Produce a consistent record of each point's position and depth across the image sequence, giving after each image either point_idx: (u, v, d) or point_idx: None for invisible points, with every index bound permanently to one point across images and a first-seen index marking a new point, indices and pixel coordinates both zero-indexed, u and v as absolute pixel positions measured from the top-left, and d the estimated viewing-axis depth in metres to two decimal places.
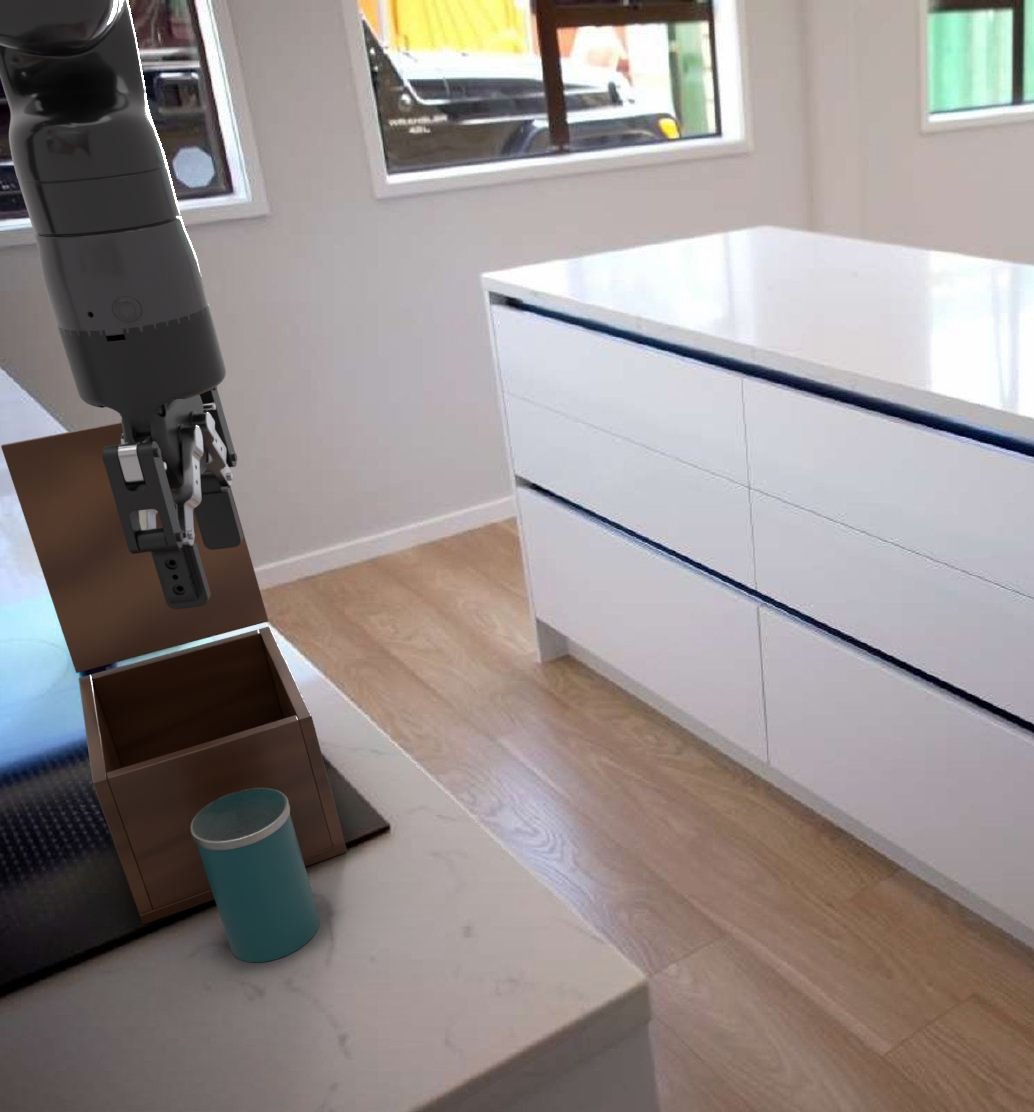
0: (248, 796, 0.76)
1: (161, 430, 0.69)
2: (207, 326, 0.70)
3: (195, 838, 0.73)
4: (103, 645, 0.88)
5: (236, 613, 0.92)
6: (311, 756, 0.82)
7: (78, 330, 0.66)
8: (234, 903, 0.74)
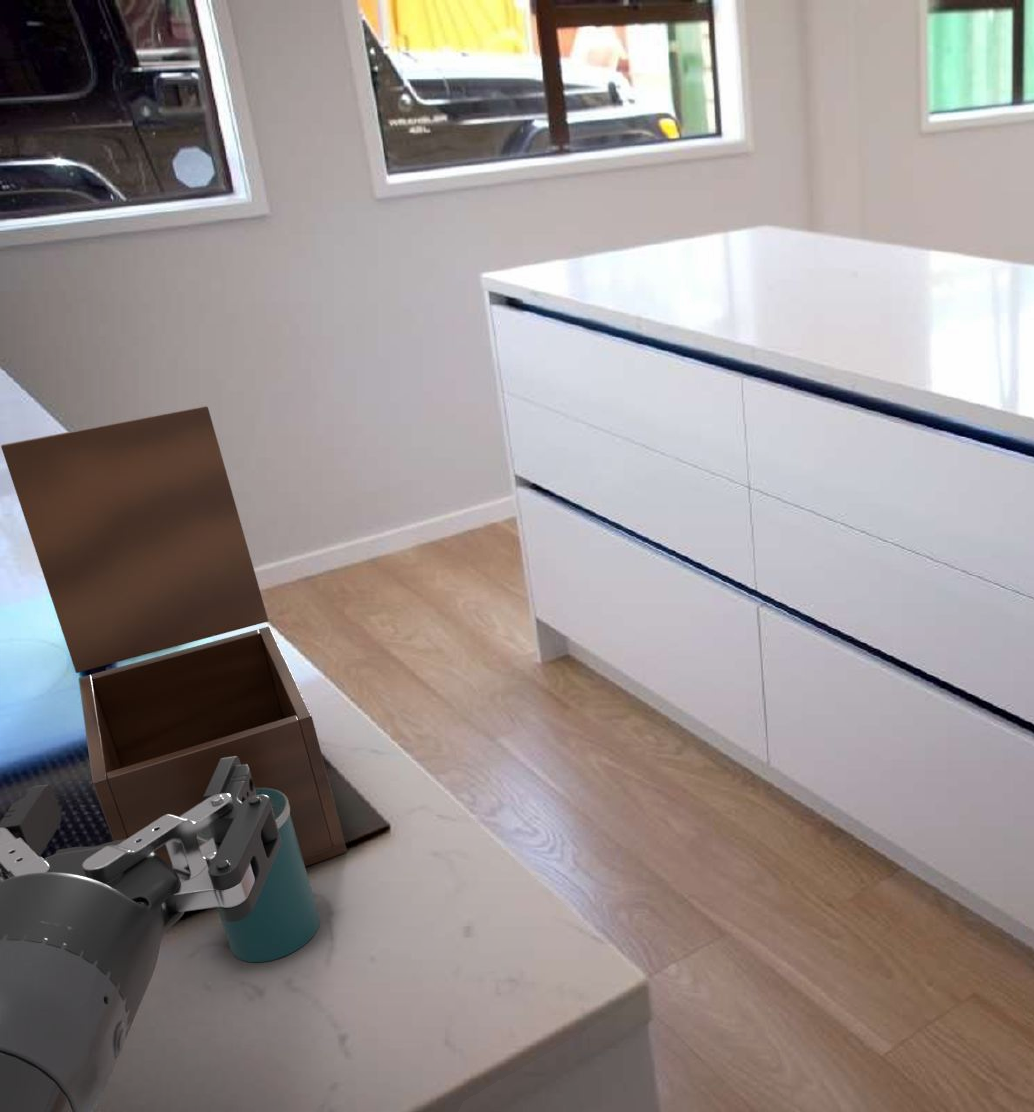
0: None
1: None
2: None
3: None
4: (103, 645, 0.88)
5: (236, 613, 0.92)
6: (311, 756, 0.82)
7: None
8: None
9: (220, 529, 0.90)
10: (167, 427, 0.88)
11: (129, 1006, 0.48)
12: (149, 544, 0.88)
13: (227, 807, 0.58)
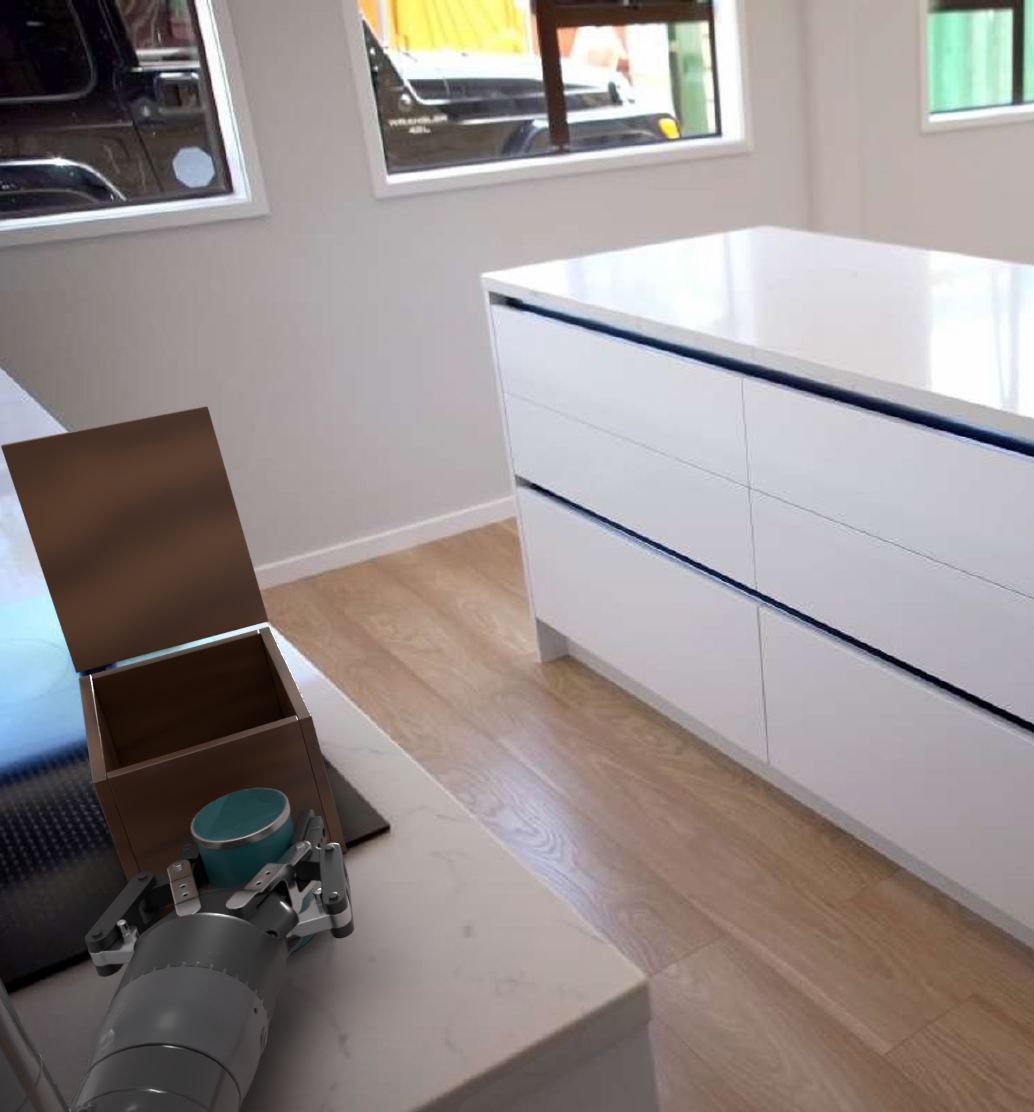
0: (248, 796, 0.76)
1: None
2: None
3: (195, 838, 0.73)
4: (103, 645, 0.88)
5: (236, 613, 0.92)
6: (311, 756, 0.82)
7: None
8: None
9: (220, 529, 0.90)
10: (167, 427, 0.88)
11: (269, 1014, 0.65)
12: (149, 544, 0.88)
13: (308, 852, 0.74)
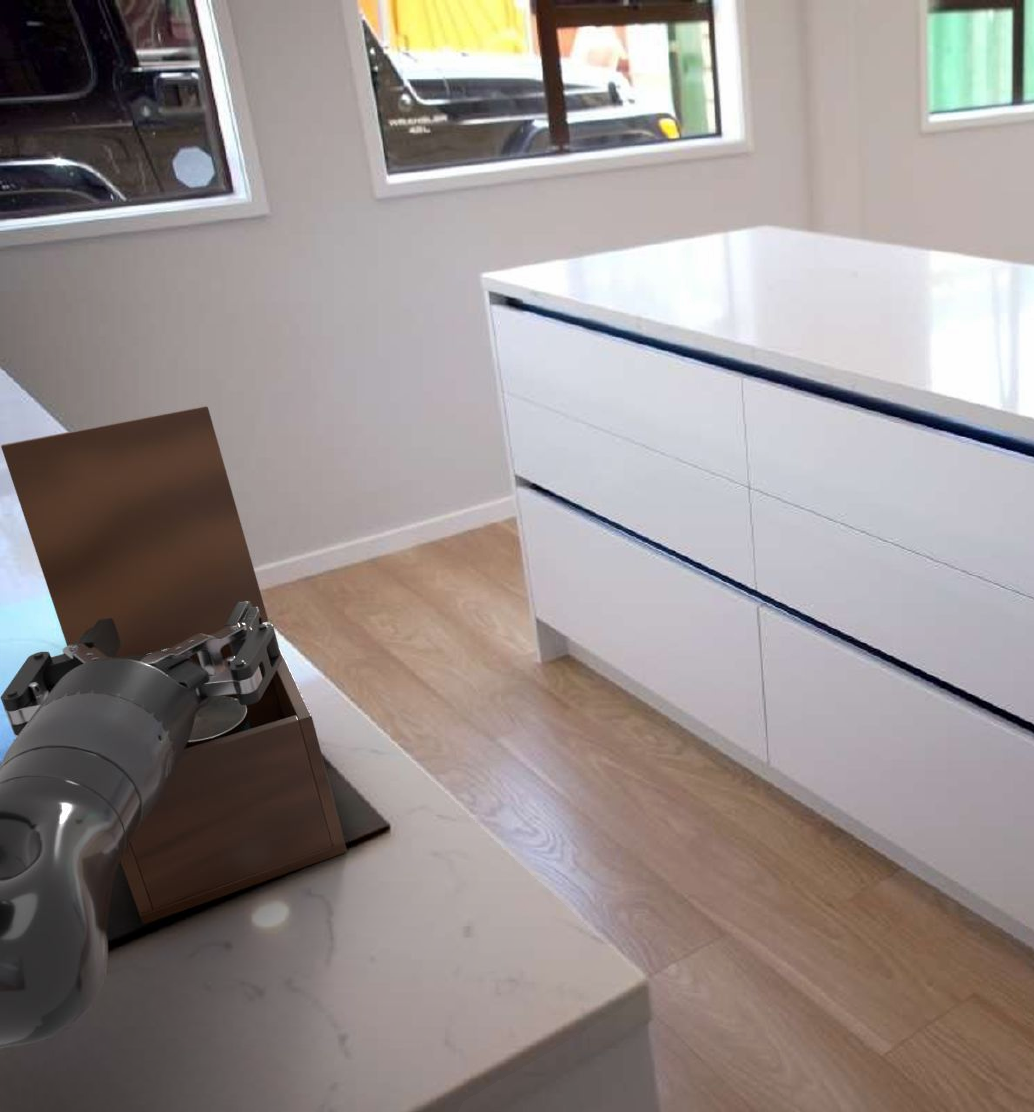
0: (211, 703, 0.85)
1: None
2: None
3: None
4: None
5: None
6: (311, 756, 0.82)
7: None
8: None
9: (220, 529, 0.90)
10: (167, 427, 0.88)
11: (175, 748, 0.70)
12: (149, 544, 0.88)
13: (242, 631, 0.79)
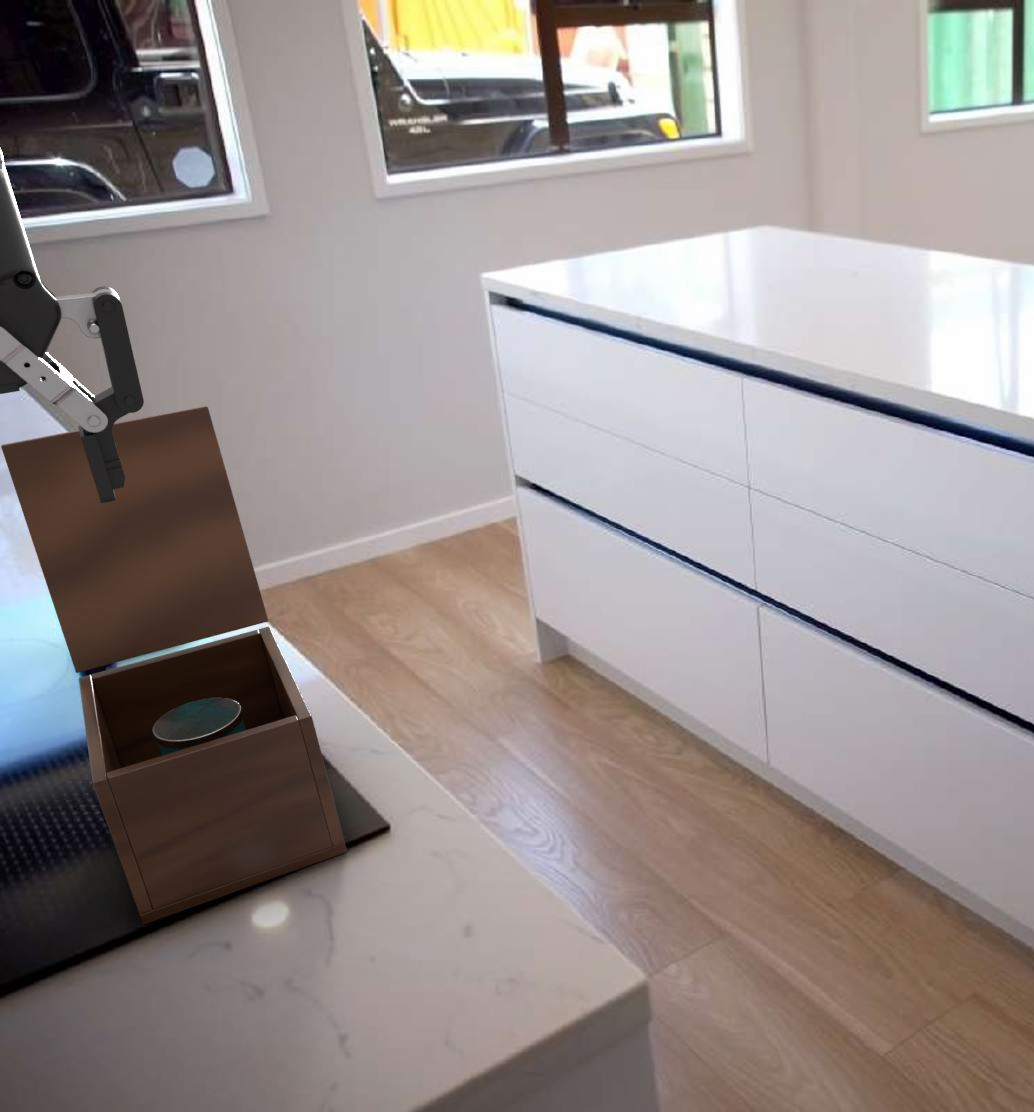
0: (205, 705, 0.85)
1: None
2: None
3: (156, 738, 0.82)
4: (103, 645, 0.88)
5: (236, 613, 0.92)
6: (311, 756, 0.82)
7: None
8: None
9: (220, 529, 0.90)
10: (167, 427, 0.88)
11: (8, 183, 0.58)
12: (149, 544, 0.88)
13: None
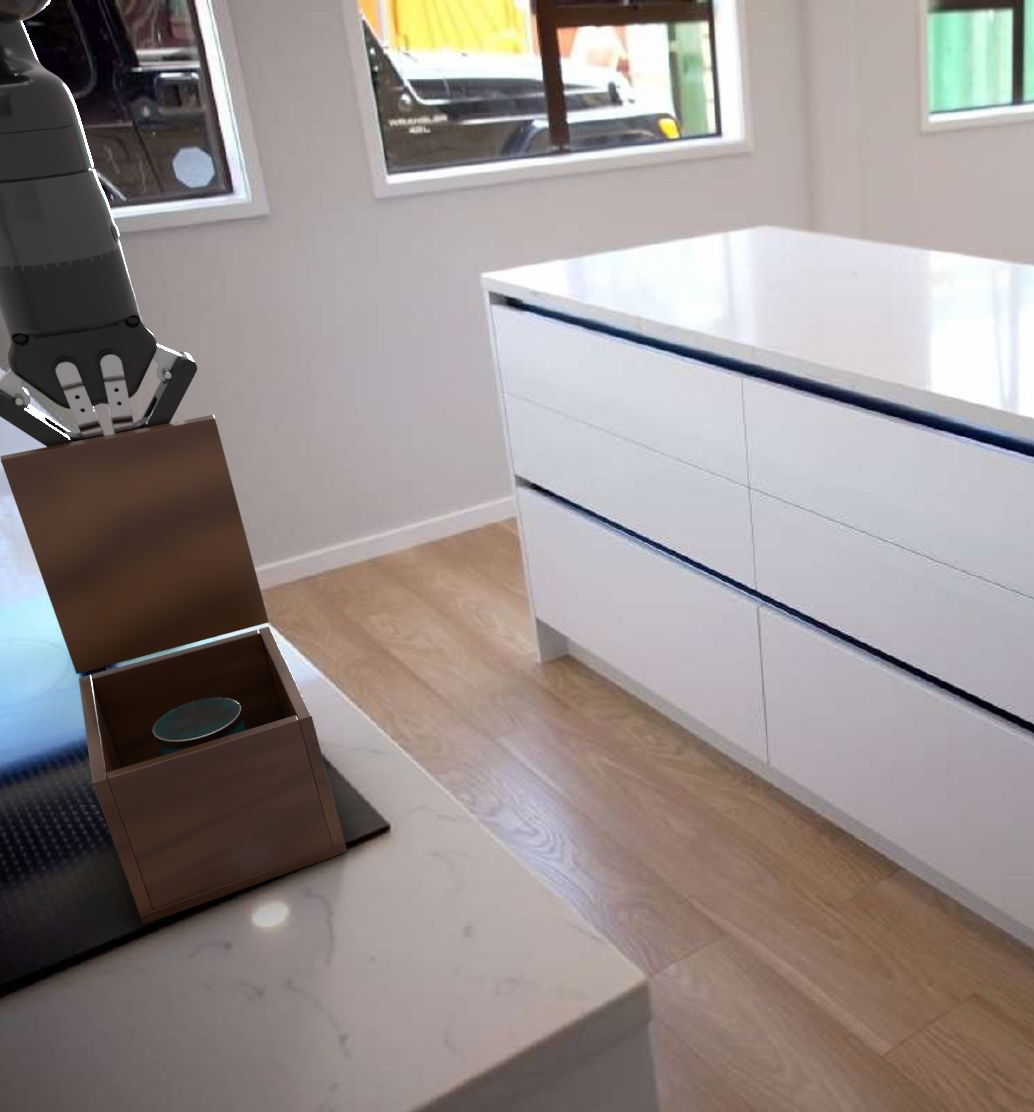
0: (205, 705, 0.85)
1: (13, 366, 0.80)
2: (51, 279, 0.77)
3: (156, 738, 0.82)
4: (103, 648, 0.88)
5: (237, 615, 0.92)
6: (311, 756, 0.82)
7: None
8: None
9: (223, 537, 0.89)
10: (173, 439, 0.85)
11: (121, 252, 0.81)
12: (152, 552, 0.87)
13: None
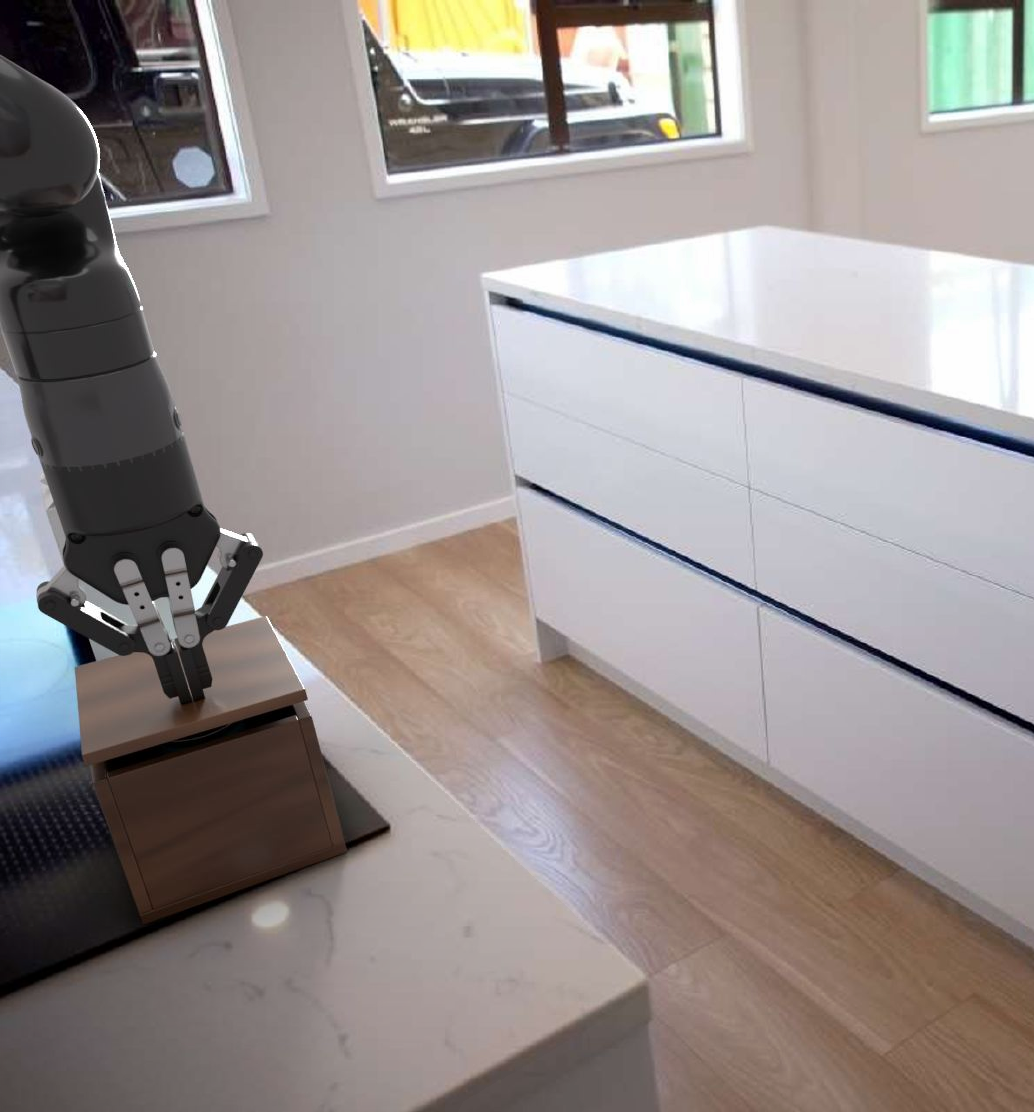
0: None
1: (68, 565, 0.73)
2: (111, 479, 0.71)
3: None
4: None
5: None
6: (311, 756, 0.82)
7: None
8: None
9: None
10: None
11: (184, 438, 0.75)
12: None
13: None
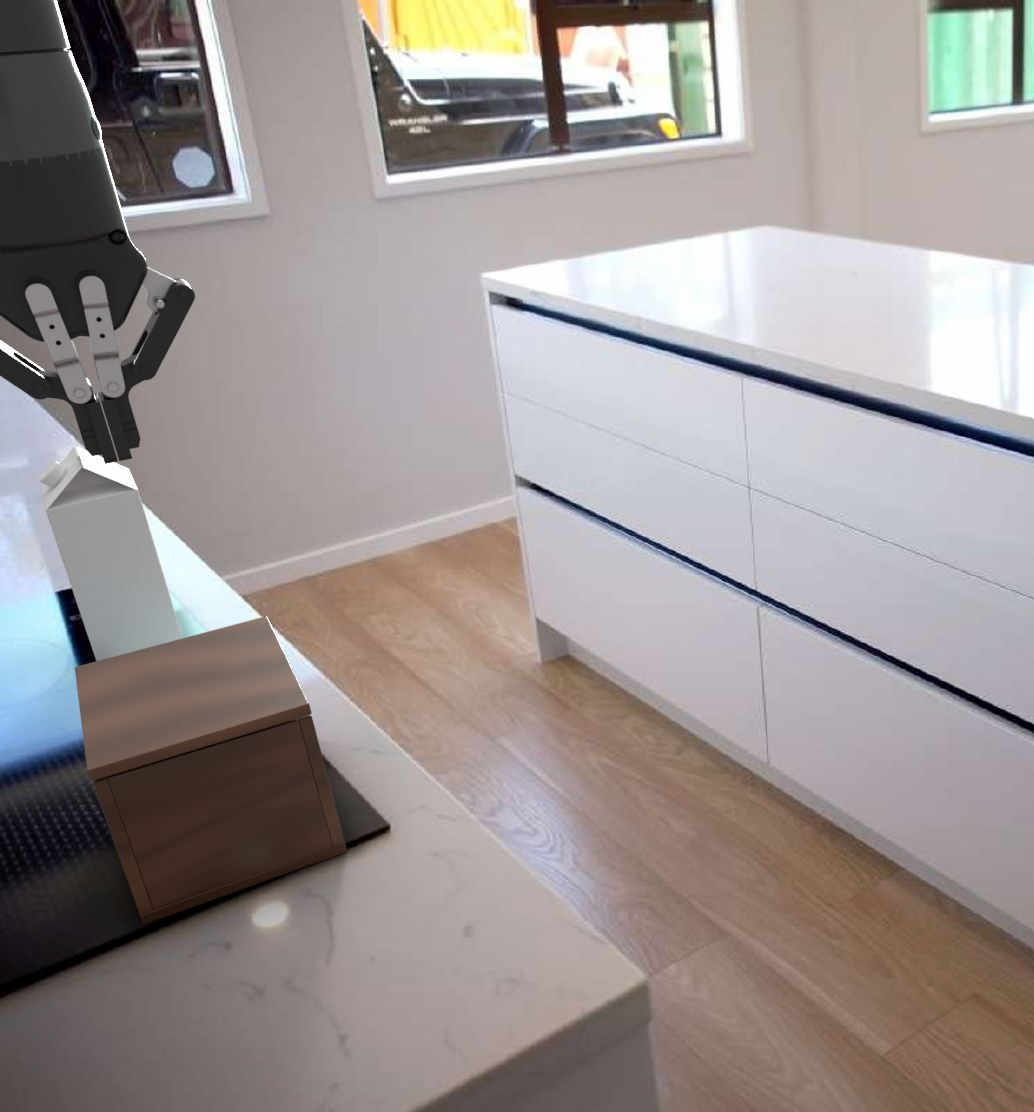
0: None
1: None
2: (18, 180, 0.64)
3: None
4: None
5: None
6: (311, 756, 0.82)
7: None
8: None
9: None
10: None
11: (104, 153, 0.68)
12: None
13: None
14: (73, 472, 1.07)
